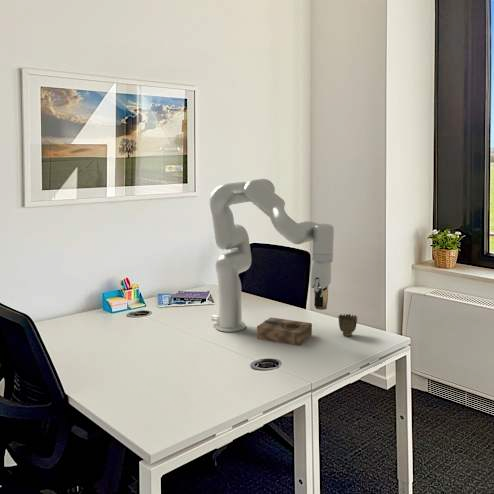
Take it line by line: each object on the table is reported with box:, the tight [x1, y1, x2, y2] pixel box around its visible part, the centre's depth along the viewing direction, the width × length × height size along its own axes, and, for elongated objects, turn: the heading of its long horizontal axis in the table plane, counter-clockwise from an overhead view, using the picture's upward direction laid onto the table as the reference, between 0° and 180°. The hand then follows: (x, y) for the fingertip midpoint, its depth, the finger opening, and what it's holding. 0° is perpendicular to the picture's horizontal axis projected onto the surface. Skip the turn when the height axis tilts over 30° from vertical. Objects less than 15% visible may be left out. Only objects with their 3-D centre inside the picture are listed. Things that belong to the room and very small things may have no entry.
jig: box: [256, 317, 313, 346], centre depth 222 cm, size 18×13×6 cm
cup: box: [337, 313, 358, 338], centre depth 222 cm, size 8×7×8 cm
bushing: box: [314, 289, 328, 311], centre depth 210 cm, size 4×4×7 cm
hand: (321, 304), depth 211 cm, fingers closed on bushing, 4 cm apart
